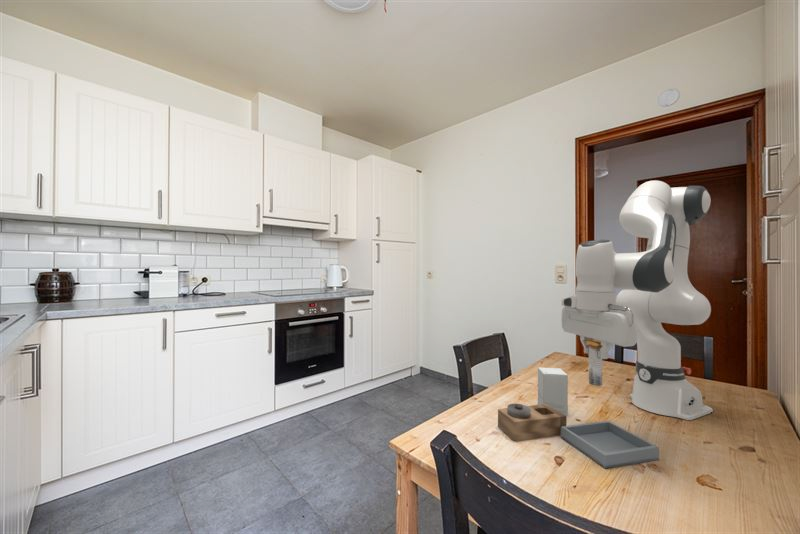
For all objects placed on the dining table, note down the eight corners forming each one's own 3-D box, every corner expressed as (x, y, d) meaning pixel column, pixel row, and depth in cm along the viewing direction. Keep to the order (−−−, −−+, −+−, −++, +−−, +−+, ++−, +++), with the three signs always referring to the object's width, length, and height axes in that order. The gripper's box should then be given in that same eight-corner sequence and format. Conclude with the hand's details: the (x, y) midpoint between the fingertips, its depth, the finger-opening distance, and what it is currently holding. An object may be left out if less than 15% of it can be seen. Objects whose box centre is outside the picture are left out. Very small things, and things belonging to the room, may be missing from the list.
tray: (608, 431, 88) (608, 420, 89) (658, 459, 75) (658, 446, 75) (560, 438, 85) (561, 426, 85) (605, 468, 72) (605, 455, 72)
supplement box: (568, 416, 97) (568, 375, 98) (542, 414, 99) (542, 373, 99) (561, 406, 105) (561, 368, 105) (537, 404, 106) (537, 366, 106)
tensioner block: (546, 421, 94) (546, 395, 94) (566, 434, 87) (566, 407, 87) (497, 426, 90) (498, 400, 91) (514, 441, 83) (514, 412, 83)
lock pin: (595, 380, 84) (595, 338, 85) (608, 385, 81) (608, 342, 81) (582, 381, 84) (582, 339, 84) (595, 387, 80) (595, 343, 80)
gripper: (644, 306, 73) (644, 367, 73) (575, 298, 93) (576, 346, 93) (621, 307, 71) (622, 369, 71) (557, 299, 91) (557, 347, 91)
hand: (595, 356), depth 82 cm, fingers closed on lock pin, 3 cm apart
